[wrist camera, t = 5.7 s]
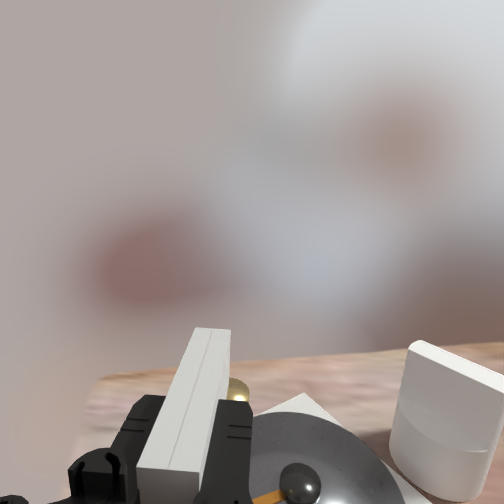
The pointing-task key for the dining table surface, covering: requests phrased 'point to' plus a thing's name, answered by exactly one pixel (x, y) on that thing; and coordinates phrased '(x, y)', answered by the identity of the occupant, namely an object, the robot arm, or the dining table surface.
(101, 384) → the dining table surface
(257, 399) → the dining table surface
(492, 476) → the dining table surface
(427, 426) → the cylinder with rectangular tab
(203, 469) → the robot arm
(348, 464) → the cam dial
